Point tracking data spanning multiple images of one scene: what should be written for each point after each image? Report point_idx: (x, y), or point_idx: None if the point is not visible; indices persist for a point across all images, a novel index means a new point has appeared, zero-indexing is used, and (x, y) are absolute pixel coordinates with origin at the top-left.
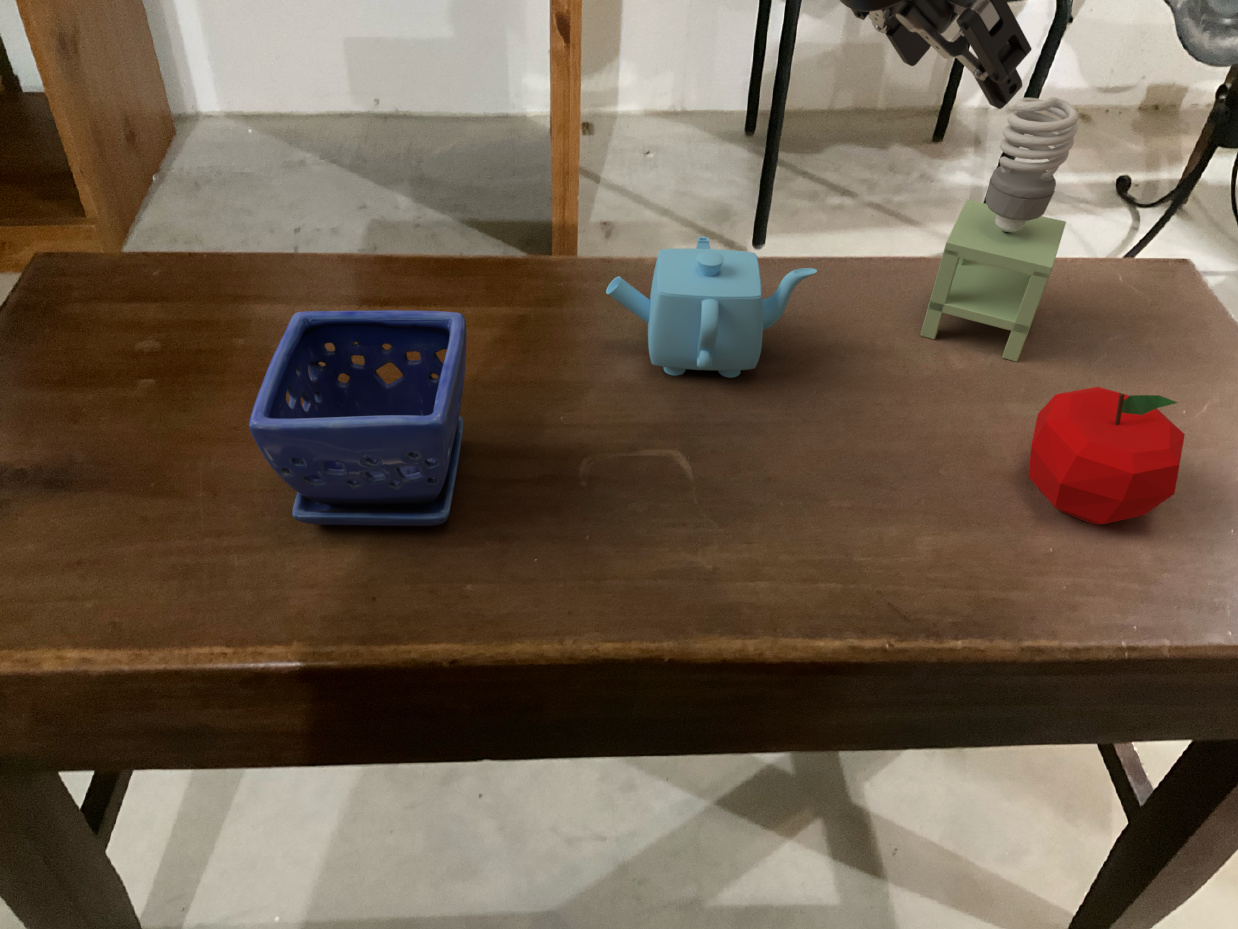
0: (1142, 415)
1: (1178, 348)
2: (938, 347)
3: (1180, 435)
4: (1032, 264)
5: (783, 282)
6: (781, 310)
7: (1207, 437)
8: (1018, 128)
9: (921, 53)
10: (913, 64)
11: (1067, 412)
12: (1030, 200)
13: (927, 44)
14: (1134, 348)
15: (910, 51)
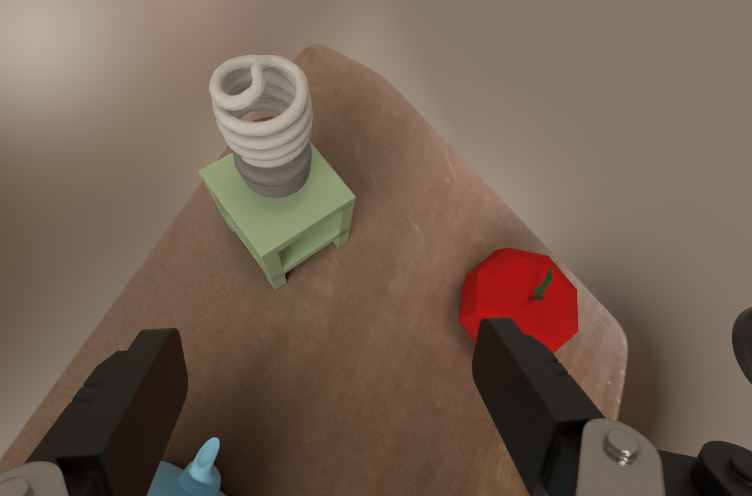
0: (531, 274)
1: (388, 123)
2: (298, 286)
3: (552, 262)
4: (340, 207)
5: (199, 479)
6: (219, 478)
7: (475, 188)
8: (258, 136)
9: (180, 363)
10: (185, 386)
11: None
12: (306, 171)
13: (173, 343)
14: (374, 149)
15: (170, 411)
